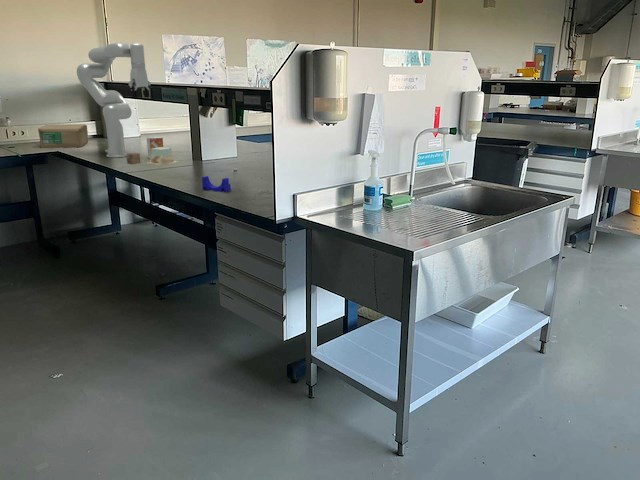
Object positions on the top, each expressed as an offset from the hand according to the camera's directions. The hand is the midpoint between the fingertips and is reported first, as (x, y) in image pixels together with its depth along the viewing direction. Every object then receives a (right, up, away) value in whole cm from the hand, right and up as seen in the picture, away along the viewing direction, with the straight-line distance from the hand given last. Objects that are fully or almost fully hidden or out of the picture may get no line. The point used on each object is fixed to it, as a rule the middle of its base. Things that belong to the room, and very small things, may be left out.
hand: (141, 97), depth 306 cm
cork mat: (+12, -38, 0) cm, 40 cm away
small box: (+4, -34, +15) cm, 37 cm away
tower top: (+12, -34, -1) cm, 36 cm away
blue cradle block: (+57, -60, -66) cm, 106 cm away
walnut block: (-2, -39, -5) cm, 40 cm away
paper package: (-75, -17, +64) cm, 100 cm away
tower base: (+12, -38, 0) cm, 40 cm away
